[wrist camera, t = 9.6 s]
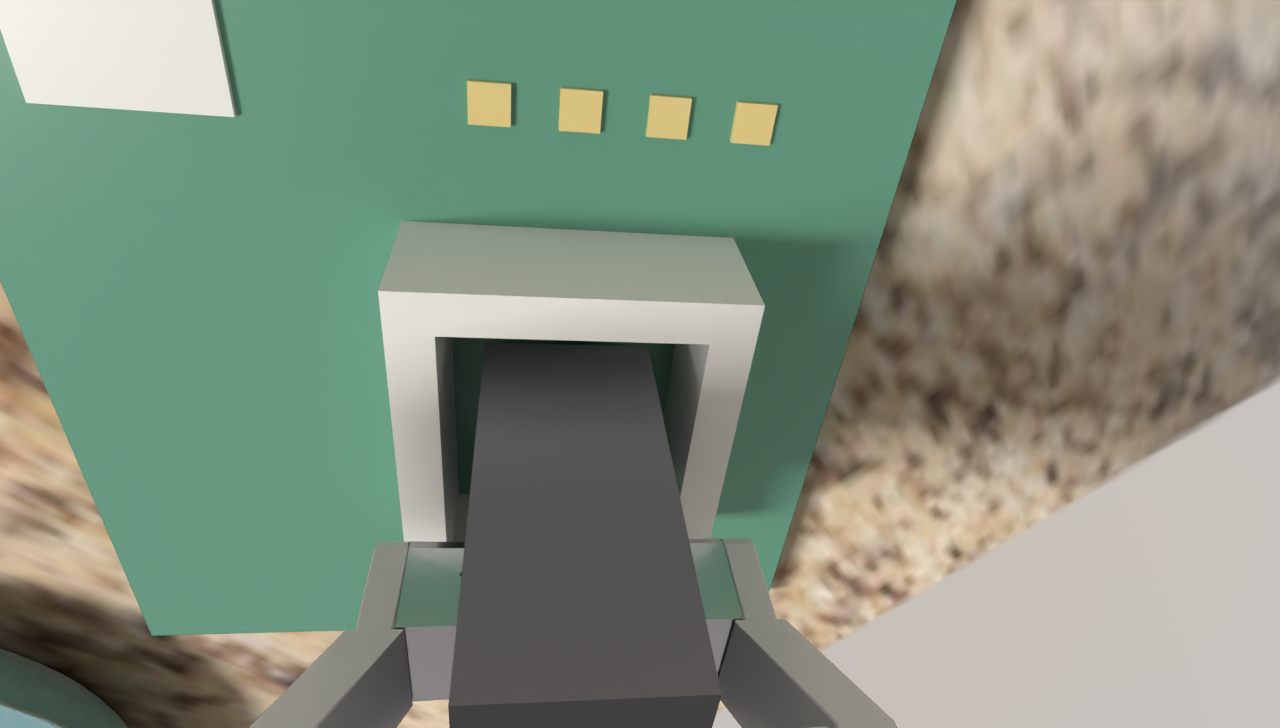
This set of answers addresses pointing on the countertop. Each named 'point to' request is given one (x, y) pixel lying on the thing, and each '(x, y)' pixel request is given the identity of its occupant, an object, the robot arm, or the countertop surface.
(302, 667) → the countertop surface
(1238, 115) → the countertop surface
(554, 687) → the plug
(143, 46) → the board
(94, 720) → the saucer
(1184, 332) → the countertop surface
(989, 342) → the countertop surface
